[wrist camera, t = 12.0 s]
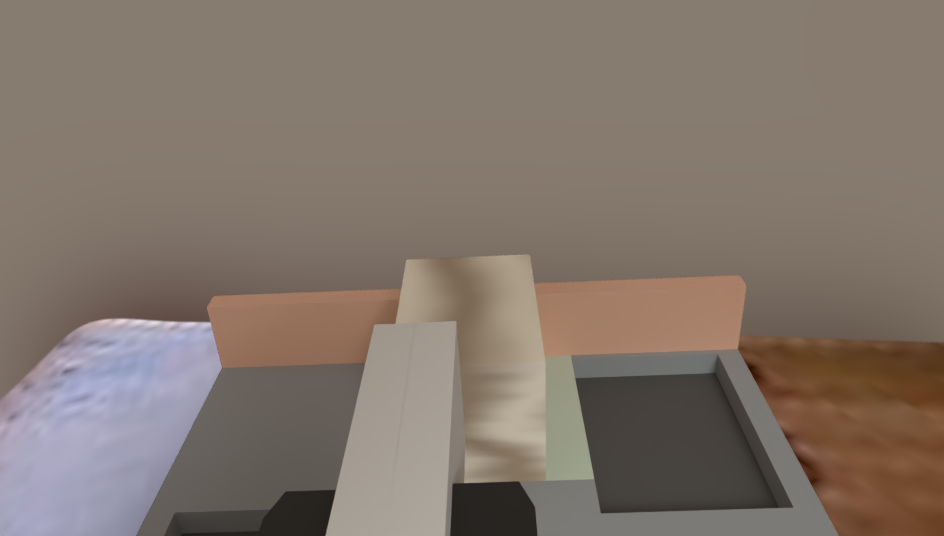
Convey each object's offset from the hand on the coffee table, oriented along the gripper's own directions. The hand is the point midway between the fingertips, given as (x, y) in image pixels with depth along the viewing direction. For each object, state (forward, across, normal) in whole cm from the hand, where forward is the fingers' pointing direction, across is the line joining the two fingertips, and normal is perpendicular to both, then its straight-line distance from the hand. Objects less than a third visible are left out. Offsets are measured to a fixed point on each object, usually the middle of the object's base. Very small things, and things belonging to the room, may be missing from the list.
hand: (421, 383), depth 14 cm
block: (+26, 0, -22) cm, 34 cm away
